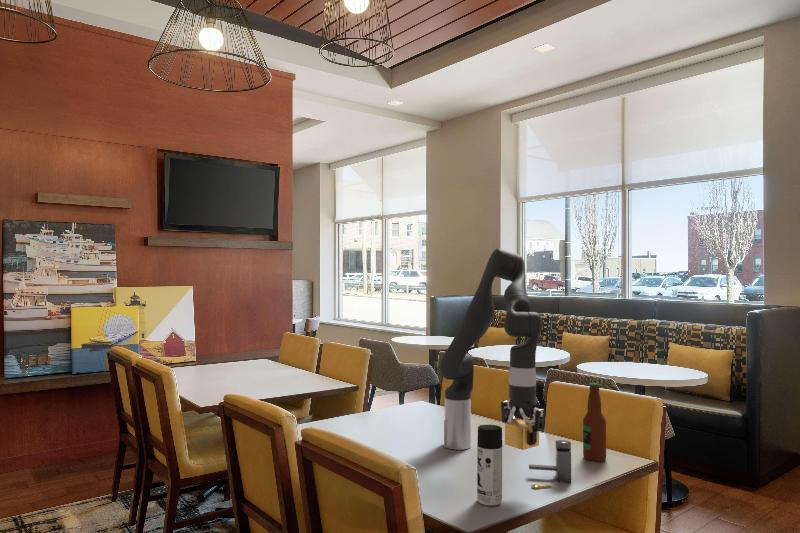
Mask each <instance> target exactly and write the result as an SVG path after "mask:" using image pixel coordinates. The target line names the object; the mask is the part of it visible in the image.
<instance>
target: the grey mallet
mask: <svg viewBox="0 0 800 533" xmlns="http://www.w3.org/2000/svg"><path fill="white" fill-rule="evenodd" d="M571 450H572V442H571V441H570V440H565V439H558V440H555V465H545V464H528V469H529V470H536V471H553V472H555V478H556V482H557V483H565V484H566V483H568V484H571V483H572V451H571Z"/></svg>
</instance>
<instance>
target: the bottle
mask: <svg viewBox="0 0 800 533" xmlns="http://www.w3.org/2000/svg"><path fill="white" fill-rule="evenodd" d="M588 385H589V388H588V390H589V393H588V399H587V412H586V413H585V415H584V417H583V418H582V434H583V435H582V452H583V453H582V456H583V458H584V459H585V460H587V461H589V462H595V463H601V462H604V461H605V460H606V459H607V419H606V418H605V416H604V415H603V412H602V402H601V395H600V384H599V383H598V382H590V383H589V384H588Z"/></svg>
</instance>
